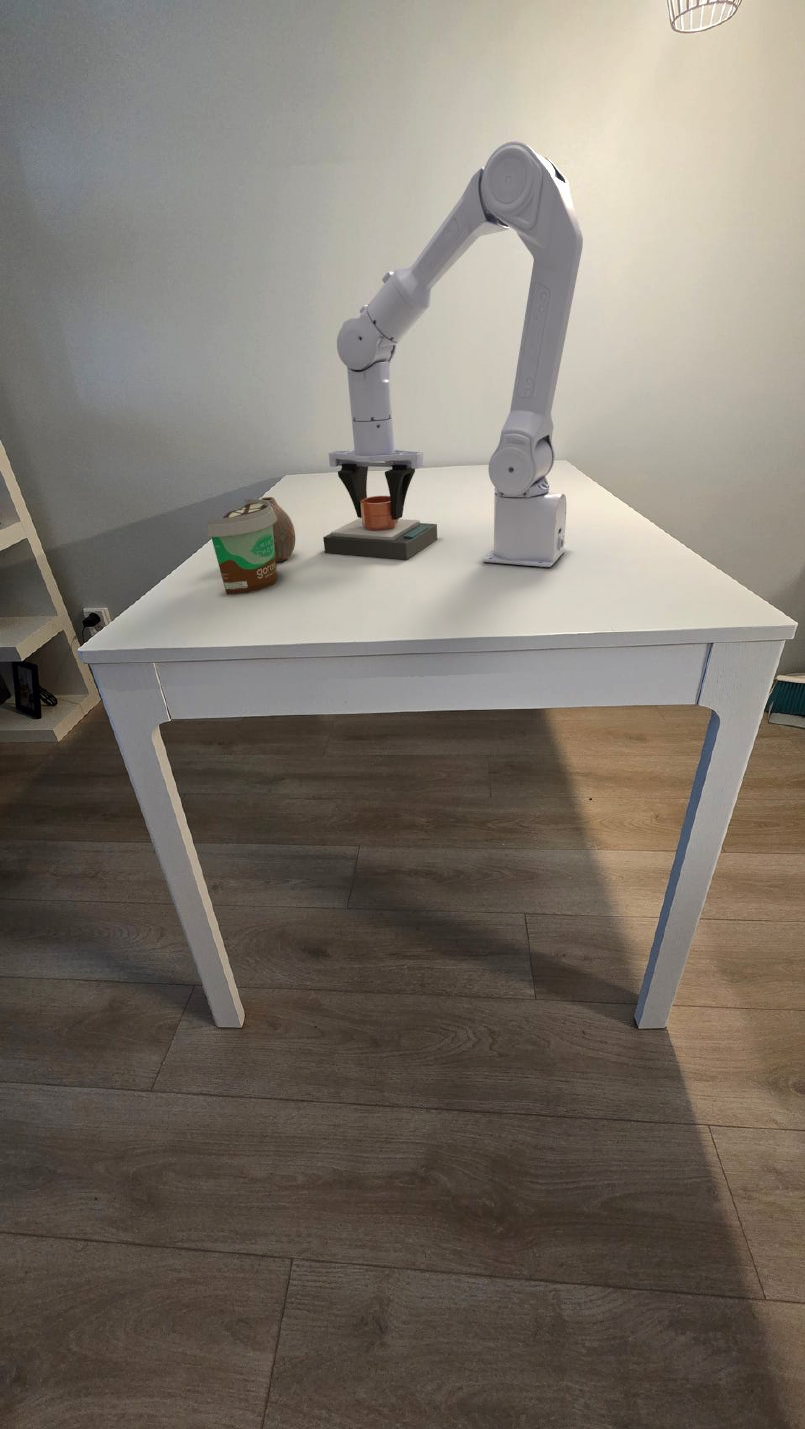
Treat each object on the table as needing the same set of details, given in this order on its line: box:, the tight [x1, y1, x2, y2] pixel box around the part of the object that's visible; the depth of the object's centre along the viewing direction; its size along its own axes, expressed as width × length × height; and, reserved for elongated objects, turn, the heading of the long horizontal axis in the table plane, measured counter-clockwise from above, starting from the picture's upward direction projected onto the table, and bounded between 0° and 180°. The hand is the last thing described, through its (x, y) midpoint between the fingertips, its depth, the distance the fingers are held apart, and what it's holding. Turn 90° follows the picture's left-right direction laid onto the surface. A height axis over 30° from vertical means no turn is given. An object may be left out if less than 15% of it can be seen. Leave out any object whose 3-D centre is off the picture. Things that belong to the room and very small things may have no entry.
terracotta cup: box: [360, 495, 398, 531], centre depth 97 cm, size 5×6×4 cm
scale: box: [322, 518, 438, 561], centre depth 99 cm, size 14×11×3 cm
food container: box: [206, 497, 278, 595], centre depth 85 cm, size 12×6×10 cm, turn 168°
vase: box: [259, 496, 296, 563], centre depth 95 cm, size 7×7×9 cm
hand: (379, 517), depth 97 cm, fingers closed on terracotta cup, 5 cm apart
